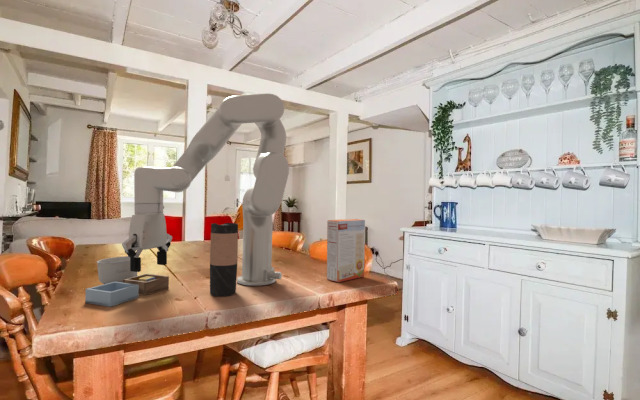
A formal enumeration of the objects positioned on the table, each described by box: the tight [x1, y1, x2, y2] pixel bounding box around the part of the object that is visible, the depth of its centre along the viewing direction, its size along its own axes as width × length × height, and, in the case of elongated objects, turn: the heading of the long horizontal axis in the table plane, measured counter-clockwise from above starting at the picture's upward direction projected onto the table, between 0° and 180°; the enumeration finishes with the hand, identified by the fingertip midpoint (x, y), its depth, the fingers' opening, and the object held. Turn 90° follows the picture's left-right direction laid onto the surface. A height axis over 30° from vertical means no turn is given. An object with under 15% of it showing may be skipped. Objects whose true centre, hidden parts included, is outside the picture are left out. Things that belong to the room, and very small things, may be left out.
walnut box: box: [123, 273, 170, 296], centre depth 99 cm, size 8×8×4 cm
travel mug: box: [209, 222, 239, 298], centre depth 98 cm, size 8×8×20 cm
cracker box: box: [326, 218, 366, 283], centre depth 120 cm, size 14×6×21 cm, turn 133°
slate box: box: [84, 282, 139, 308], centre depth 89 cm, size 8×8×4 cm
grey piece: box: [96, 255, 138, 285], centre depth 106 cm, size 14×11×8 cm
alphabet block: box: [139, 276, 155, 282], centre depth 99 cm, size 3×3×3 cm
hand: (149, 267), depth 100 cm, fingers open, 9 cm apart
